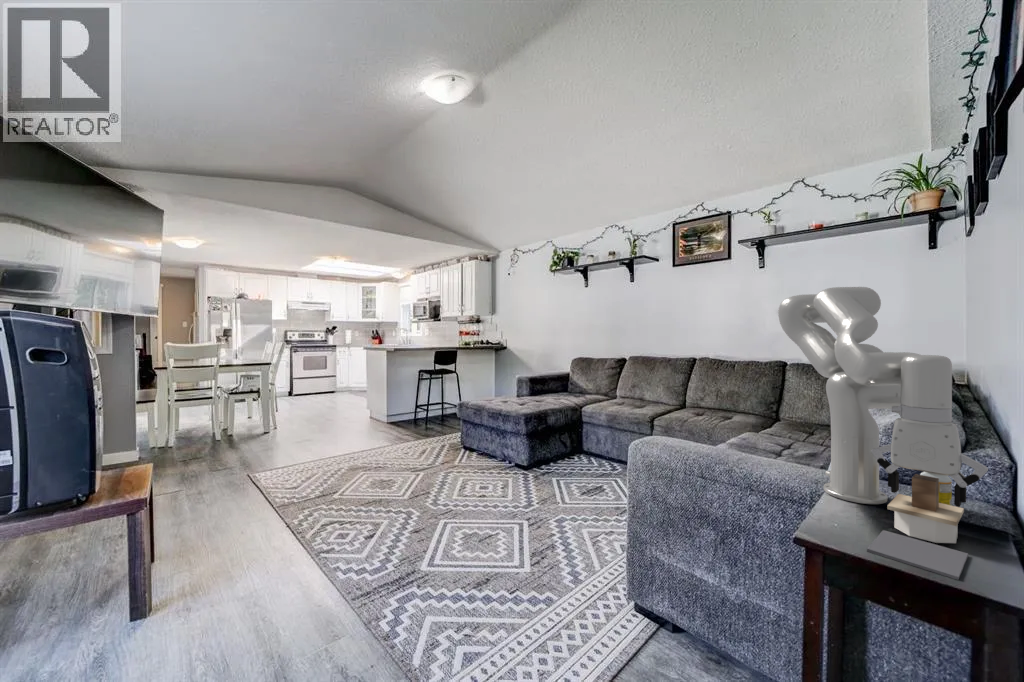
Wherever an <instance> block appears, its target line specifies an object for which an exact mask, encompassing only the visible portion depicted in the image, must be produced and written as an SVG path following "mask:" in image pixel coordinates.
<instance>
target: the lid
mask: <svg viewBox="0 0 1024 682" xmlns="http://www.w3.org/2000/svg"><path fill="white" fill-rule="evenodd" d="M886 508H887V510H890V511H893V512H894V511H897V512H901V513H905V514H909V515H913V516H917V517H921V518H925V519H929V520H933V521H937V522H941V523H945V524H949V525H954V526H957V524H959V522H960V520H961V518H962V517H963V514H964V513H965V508H964V507H961V506H960V507H957V506H955V505H952V506H951V505H947V504H942V503H939V478H934V477H929V476H923V475H920V474H918V473H915V474H914V475H913V476H912V477H911V495H906V494H905V495H904V494H902V493H898V494H897V495H896V496H895V497H894V498H893V499H892V500H890V502H889V503H888V504H887V507H886Z"/></svg>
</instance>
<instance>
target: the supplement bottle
mask: <svg viewBox="0 0 1024 682" xmlns="http://www.w3.org/2000/svg"><path fill="white" fill-rule="evenodd" d="M919 475H923V476H929V477H934V478H939V503H942V504H947V505H951V506H953V501H952V499H953V497H952V496H953V493H952V491H953V489H952V485H953V484H952V482H953V481H952V480H953V479H952V478H951V477H950V476H947V475H940V474H935V473H929V472H924V471H921V472H920V473H919Z"/></svg>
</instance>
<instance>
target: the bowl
mask: <svg viewBox="0 0 1024 682" xmlns="http://www.w3.org/2000/svg"><path fill="white" fill-rule="evenodd" d="M893 512H894V513H893V515H894V516H893V517H894V518H893V519H894V522H893V526H894V529H897V530H899V531H900V532H901V533H904V534H906V535H907V536H908V537H911V538H914V539H918V540H922V541H926V542H927V541H928V542H930V543H931V542H932V543H934V544H935V543H936V544H957V539H958V530H959V529H958V526H959V525H958V524H959V523H958V524H957V526H954V525H949V524H945V523H941V522H937V521H933V520H929V519H925V518H921V517H917V516H913V515H909V514H905V513H901V512H897V511H893Z"/></svg>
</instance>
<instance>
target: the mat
mask: <svg viewBox="0 0 1024 682" xmlns="http://www.w3.org/2000/svg"><path fill="white" fill-rule="evenodd" d="M866 552H869V553H872V554H874V555H878V556H882V557H885V558H887V559H891V560H894V561H896V562H900V563H904V564H906V565H910V566H913V567H915V568H919V569H922V570H925V571H929V572H932V573H935V574H937V575H941V576H944V577H948V578H950V579H954V580H957V581H959V580H960V577H961V575H962V572H963V570H964V569H965V565H966V562H967V560H968V558H969V553H968V552H964V551H959V550H957V549H952V548H949V547H946V546H944V545H938V544H935V543H933V542H932V543H931V542H929V541H928V542H927V541H926V540H922V539H918V538H915V537H911V536H908V535H907V536H906V535H903V534H899V533H895V532H892V531H887V530H885V529H882V531H881V532H880V533H879V534H878V535H877V536H876V537H875V539H873V541H872V542H871V543H870V544H869V545H868V547H867V548H866Z"/></svg>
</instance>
